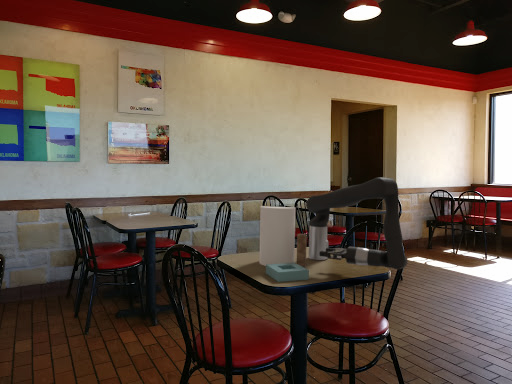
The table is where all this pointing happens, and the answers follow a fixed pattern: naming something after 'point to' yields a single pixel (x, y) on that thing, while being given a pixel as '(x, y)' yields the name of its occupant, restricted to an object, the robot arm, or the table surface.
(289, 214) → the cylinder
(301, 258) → the walnut peg
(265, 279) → the table surface
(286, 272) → the collar
